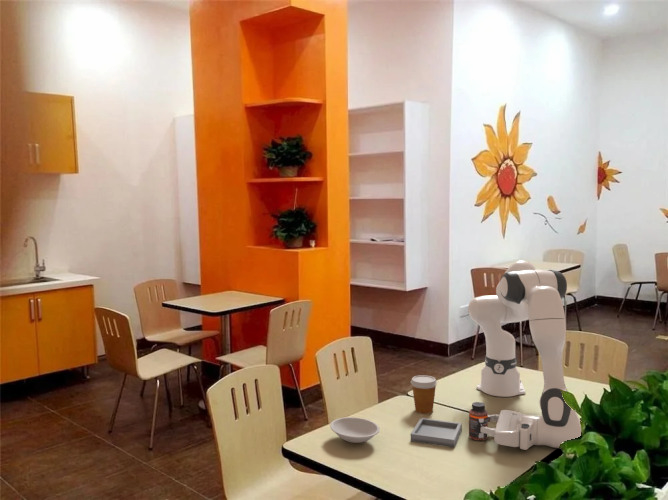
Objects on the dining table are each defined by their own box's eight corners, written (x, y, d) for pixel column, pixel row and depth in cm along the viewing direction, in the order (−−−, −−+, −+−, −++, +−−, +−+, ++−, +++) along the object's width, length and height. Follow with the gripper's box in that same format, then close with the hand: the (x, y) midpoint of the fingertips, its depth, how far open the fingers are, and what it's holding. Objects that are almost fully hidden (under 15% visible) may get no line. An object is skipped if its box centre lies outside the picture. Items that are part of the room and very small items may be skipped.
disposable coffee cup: (436, 416, 204) (436, 383, 202) (410, 414, 206) (409, 382, 204) (437, 406, 213) (437, 375, 212) (411, 405, 215) (411, 374, 214)
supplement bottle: (486, 442, 181) (486, 408, 180) (467, 440, 184) (467, 406, 182) (488, 435, 187) (488, 401, 186) (470, 432, 189) (470, 399, 188)
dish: (390, 442, 183) (389, 427, 183) (358, 457, 173) (358, 441, 173) (351, 427, 196) (351, 413, 195) (320, 440, 186) (320, 425, 186)
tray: (421, 424, 197) (420, 417, 196) (461, 430, 191) (461, 423, 191) (410, 441, 184) (410, 433, 183) (454, 447, 178) (454, 439, 178)
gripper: (529, 407, 188) (487, 402, 194) (525, 432, 169) (478, 426, 175) (529, 426, 189) (487, 420, 194) (525, 452, 170) (478, 445, 175)
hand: (482, 423), depth 184 cm, fingers open, 8 cm apart
